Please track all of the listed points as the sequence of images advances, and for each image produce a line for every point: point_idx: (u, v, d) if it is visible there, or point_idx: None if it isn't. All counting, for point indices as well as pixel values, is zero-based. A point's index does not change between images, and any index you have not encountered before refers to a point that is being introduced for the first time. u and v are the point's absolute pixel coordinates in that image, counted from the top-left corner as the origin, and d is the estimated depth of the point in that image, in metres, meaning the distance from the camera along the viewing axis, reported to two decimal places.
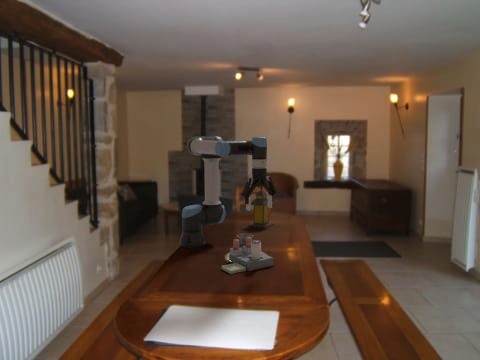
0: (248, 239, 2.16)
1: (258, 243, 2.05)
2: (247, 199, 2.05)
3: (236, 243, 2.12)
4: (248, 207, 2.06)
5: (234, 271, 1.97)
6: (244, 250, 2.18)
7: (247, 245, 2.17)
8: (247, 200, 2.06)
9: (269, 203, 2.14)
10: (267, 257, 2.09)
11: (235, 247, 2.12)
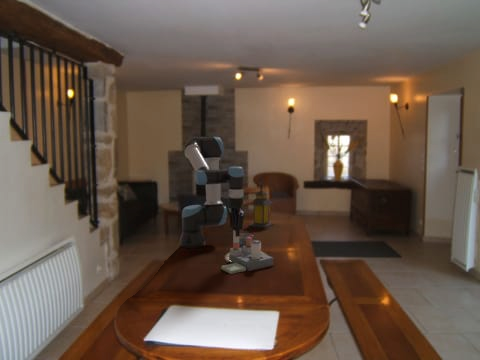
0: (248, 239, 2.16)
1: (258, 243, 2.05)
2: None
3: (236, 246, 2.12)
4: None
5: (234, 271, 1.97)
6: (244, 250, 2.18)
7: (247, 245, 2.17)
8: None
9: None
10: (267, 257, 2.09)
11: None
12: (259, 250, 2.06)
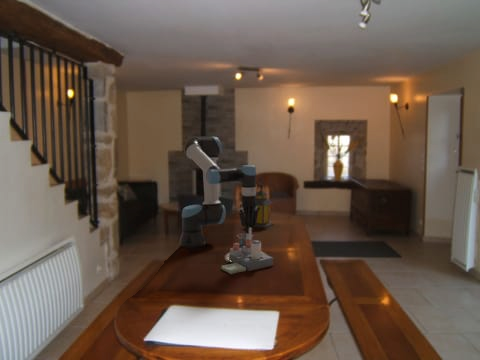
0: (248, 241, 2.16)
1: (258, 243, 2.05)
2: (247, 229, 2.15)
3: (236, 247, 2.12)
4: (248, 236, 2.16)
5: (234, 271, 1.97)
6: (244, 250, 2.18)
7: (247, 247, 2.17)
8: (247, 230, 2.15)
9: None
10: (267, 257, 2.09)
11: None
12: (259, 250, 2.06)
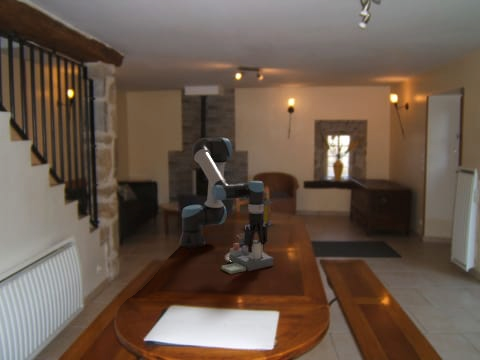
0: None
1: (258, 243, 2.05)
2: (250, 247, 2.05)
3: (236, 247, 2.12)
4: (251, 255, 2.05)
5: (234, 271, 1.97)
6: (244, 250, 2.18)
7: None
8: (250, 248, 2.05)
9: None
10: (267, 257, 2.09)
11: None
12: (259, 250, 2.06)
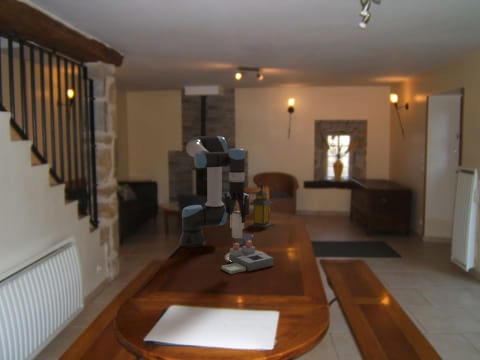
0: (248, 243, 2.16)
1: (234, 213, 1.98)
2: (229, 216, 2.02)
3: (236, 247, 2.12)
4: None
5: (234, 271, 1.97)
6: (244, 250, 2.18)
7: None
8: (229, 217, 2.02)
9: None
10: (267, 257, 2.09)
11: None
12: (235, 221, 1.98)
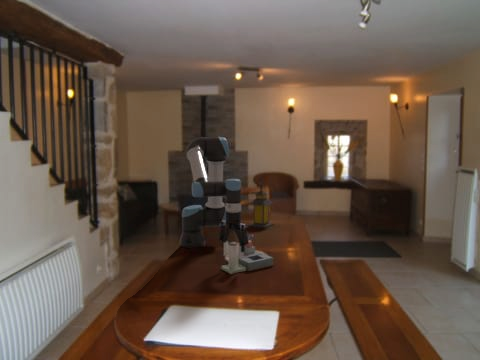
0: (248, 243, 2.16)
1: (230, 245, 1.99)
2: (223, 243, 2.04)
3: None
4: None
5: (234, 271, 1.97)
6: None
7: None
8: (223, 244, 2.04)
9: None
10: (267, 257, 2.09)
11: None
12: (231, 252, 1.99)
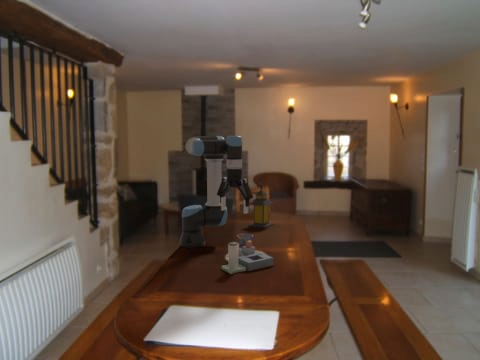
0: (248, 243, 2.16)
1: (230, 245, 1.99)
2: (221, 198, 2.04)
3: None
4: None
5: (234, 271, 1.97)
6: (244, 250, 2.18)
7: None
8: (221, 199, 2.04)
9: None
10: (267, 257, 2.09)
11: None
12: (231, 252, 1.99)
